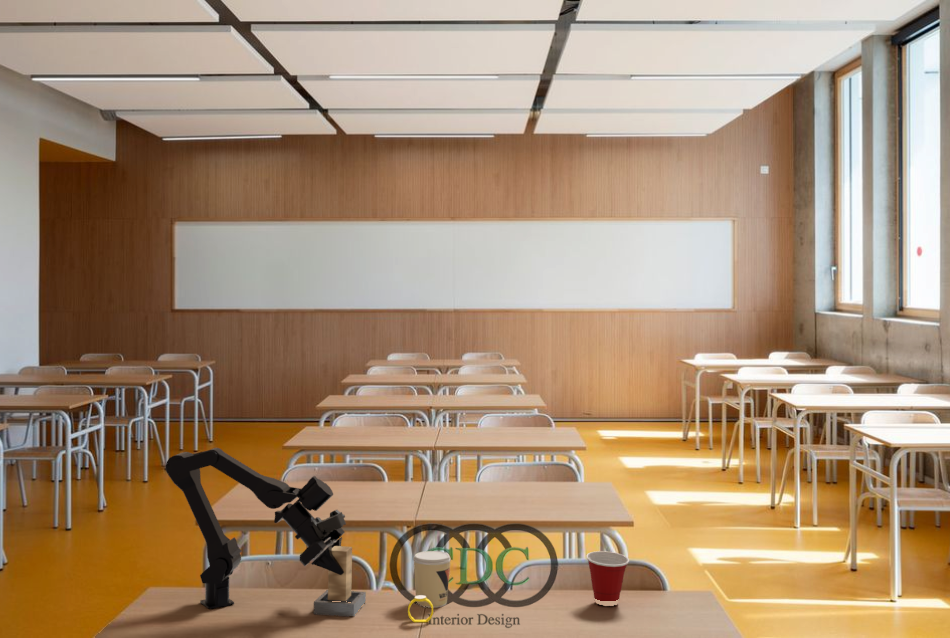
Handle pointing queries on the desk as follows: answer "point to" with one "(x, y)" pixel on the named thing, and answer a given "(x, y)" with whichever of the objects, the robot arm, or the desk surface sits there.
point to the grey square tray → (339, 604)
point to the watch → (420, 598)
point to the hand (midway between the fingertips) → (345, 571)
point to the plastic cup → (607, 574)
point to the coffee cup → (432, 577)
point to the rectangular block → (341, 583)
